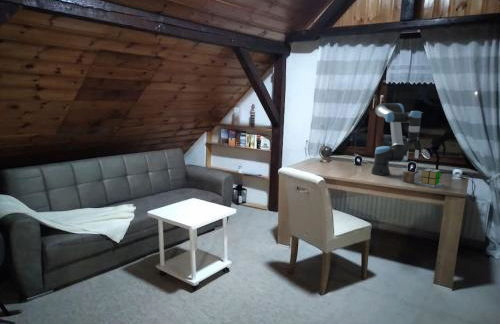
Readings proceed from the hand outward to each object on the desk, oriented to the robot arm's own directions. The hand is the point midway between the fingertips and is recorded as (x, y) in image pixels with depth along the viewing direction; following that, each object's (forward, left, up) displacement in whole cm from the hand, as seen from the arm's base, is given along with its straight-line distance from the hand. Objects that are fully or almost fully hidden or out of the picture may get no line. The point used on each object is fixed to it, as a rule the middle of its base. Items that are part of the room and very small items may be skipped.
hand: (410, 159), depth 273 cm
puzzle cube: (+13, +8, -17) cm, 23 cm away
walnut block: (0, 0, -18) cm, 18 cm away
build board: (+13, +8, -18) cm, 24 cm away
